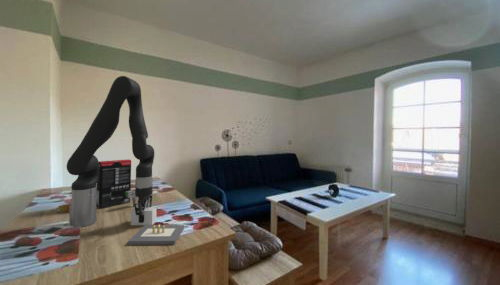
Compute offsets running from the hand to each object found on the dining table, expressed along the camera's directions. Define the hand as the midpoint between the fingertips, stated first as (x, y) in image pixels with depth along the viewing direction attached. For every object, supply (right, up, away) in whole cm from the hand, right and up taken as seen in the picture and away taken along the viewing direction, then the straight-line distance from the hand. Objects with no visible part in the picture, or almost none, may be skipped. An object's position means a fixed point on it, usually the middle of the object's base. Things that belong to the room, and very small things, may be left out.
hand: (143, 219), depth 99 cm
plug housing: (0, -2, 0) cm, 2 cm away
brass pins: (+13, -1, -12) cm, 18 cm away
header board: (+13, -2, -12) cm, 18 cm away
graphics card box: (-31, 0, +25) cm, 40 cm away
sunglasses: (-50, -1, +18) cm, 53 cm away
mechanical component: (-17, -1, +22) cm, 28 cm away
